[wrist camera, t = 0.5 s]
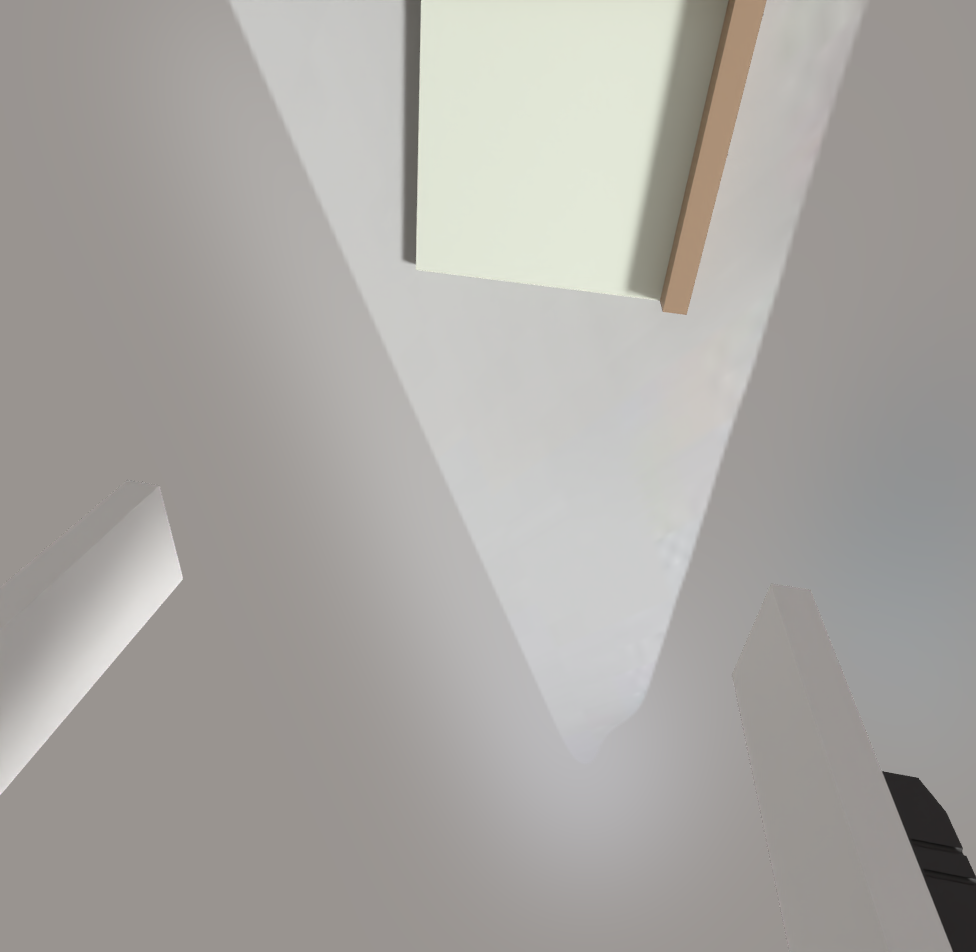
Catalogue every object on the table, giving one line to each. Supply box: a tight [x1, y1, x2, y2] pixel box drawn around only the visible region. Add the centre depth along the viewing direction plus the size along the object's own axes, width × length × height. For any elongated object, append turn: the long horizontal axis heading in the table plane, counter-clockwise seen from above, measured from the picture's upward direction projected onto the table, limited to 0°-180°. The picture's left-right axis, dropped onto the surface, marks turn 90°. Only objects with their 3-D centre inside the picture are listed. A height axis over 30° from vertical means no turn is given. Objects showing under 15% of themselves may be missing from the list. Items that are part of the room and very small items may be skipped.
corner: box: [416, 0, 766, 315], centre depth 30 cm, size 15×15×3 cm
